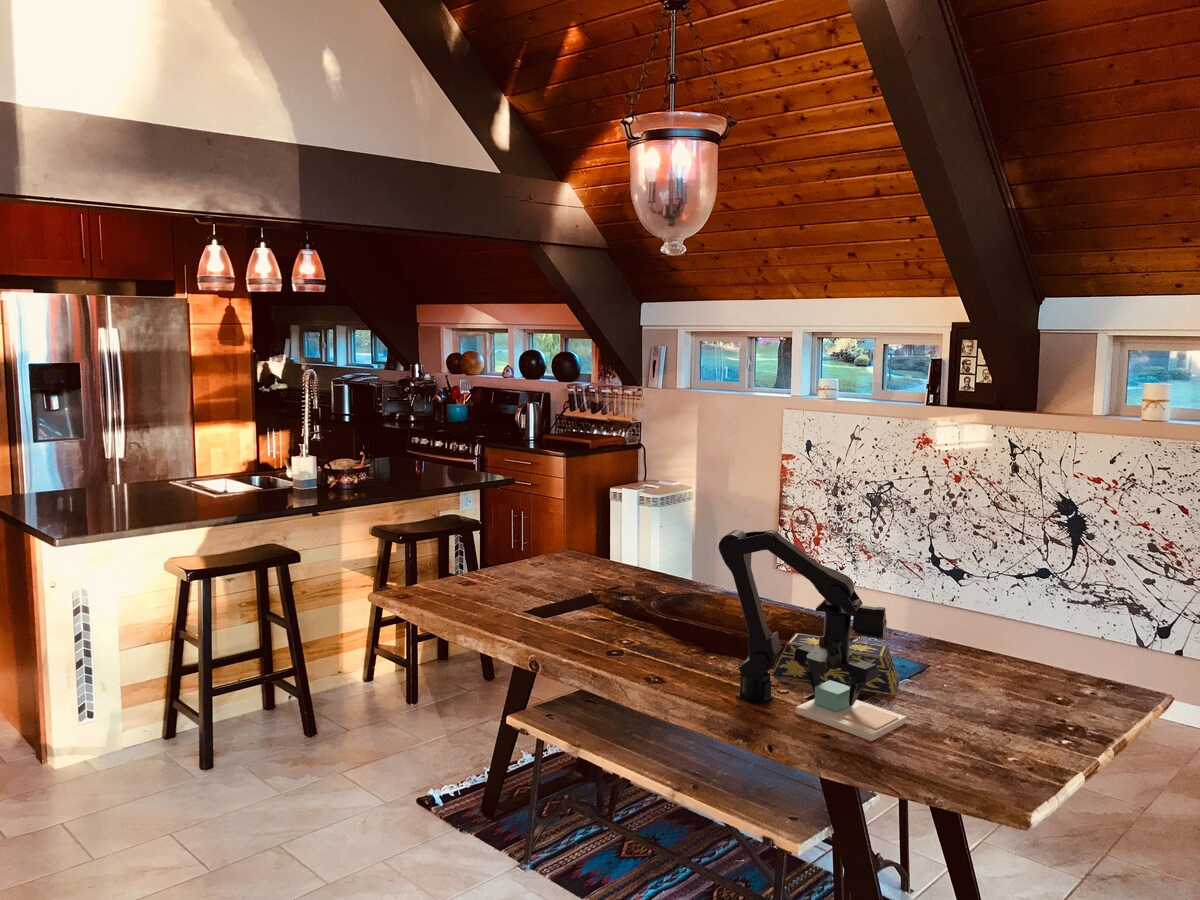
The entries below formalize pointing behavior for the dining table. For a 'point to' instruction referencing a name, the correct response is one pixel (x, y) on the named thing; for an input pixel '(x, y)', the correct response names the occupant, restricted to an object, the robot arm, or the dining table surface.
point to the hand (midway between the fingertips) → (833, 699)
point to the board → (855, 718)
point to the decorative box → (860, 652)
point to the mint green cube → (832, 695)
